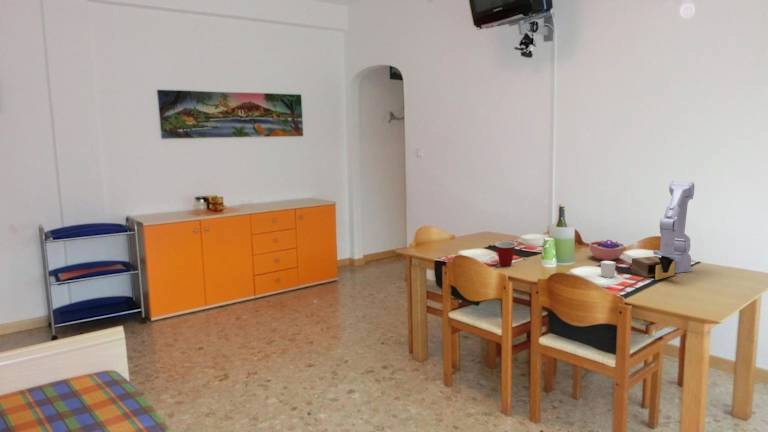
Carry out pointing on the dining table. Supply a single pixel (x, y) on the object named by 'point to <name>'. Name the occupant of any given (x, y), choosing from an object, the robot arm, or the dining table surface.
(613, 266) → the white short cylinder
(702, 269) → the dining table surface
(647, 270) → the cabinet
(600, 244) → the cell model
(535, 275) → the dining table surface
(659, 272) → the cabinet door
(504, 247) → the plastic cup
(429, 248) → the dining table surface
